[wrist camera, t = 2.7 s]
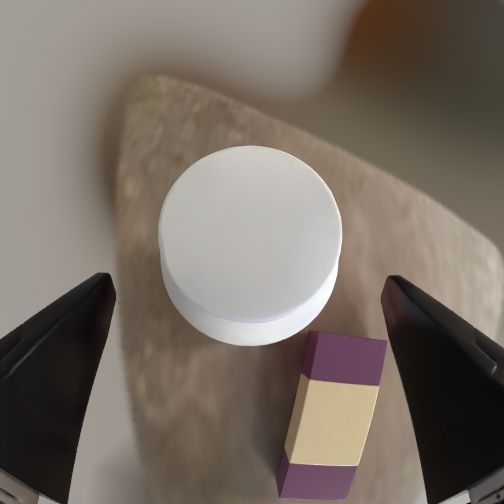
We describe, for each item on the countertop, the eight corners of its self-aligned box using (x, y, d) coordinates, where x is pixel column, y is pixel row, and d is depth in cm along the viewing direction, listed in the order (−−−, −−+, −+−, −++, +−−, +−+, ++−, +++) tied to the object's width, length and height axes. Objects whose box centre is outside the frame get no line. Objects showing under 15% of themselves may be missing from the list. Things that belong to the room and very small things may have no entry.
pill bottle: (297, 342, 17) (367, 364, 7) (191, 332, 18) (112, 341, 7) (303, 238, 19) (364, 137, 8) (202, 230, 19) (154, 120, 8)
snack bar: (335, 482, 15) (346, 500, 13) (275, 479, 15) (278, 498, 13) (371, 339, 18) (388, 340, 15) (308, 330, 18) (318, 331, 15)
